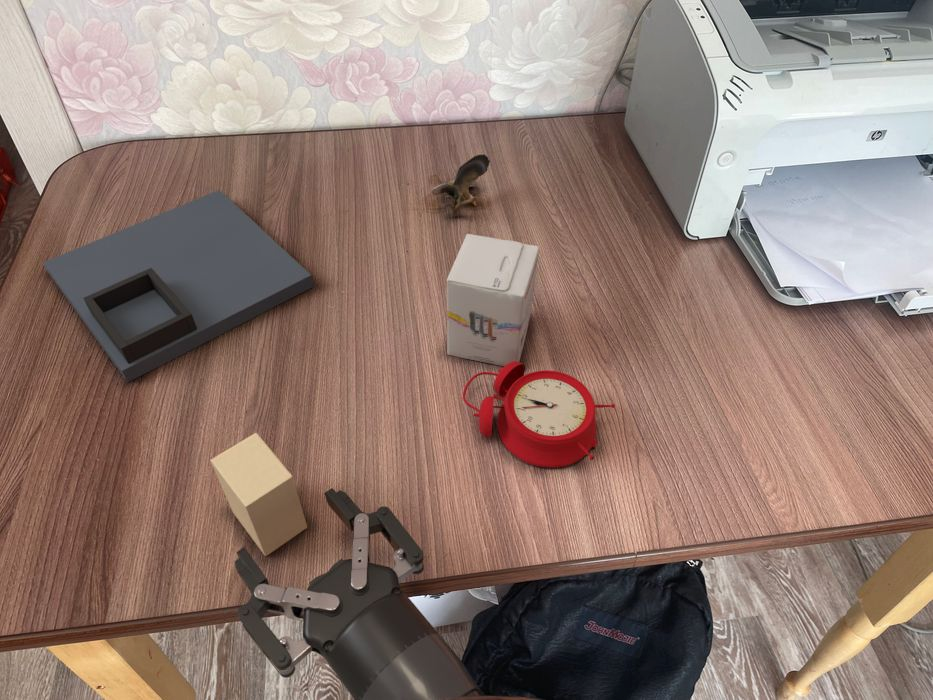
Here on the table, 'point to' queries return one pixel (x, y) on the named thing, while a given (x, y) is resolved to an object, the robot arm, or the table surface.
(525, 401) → the alarm clock
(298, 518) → the tan rectangular block
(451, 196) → the eagle figurine
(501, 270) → the ink box
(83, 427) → the table surface
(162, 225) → the dark gray square slab
